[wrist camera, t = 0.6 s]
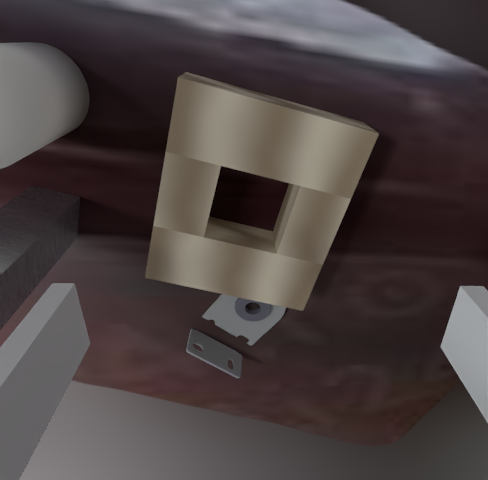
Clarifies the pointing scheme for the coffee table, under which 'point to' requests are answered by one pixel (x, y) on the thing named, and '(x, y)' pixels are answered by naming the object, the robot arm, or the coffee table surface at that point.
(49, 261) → the grey long block
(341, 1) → the coffee table surface
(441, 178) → the coffee table surface
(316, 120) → the socket block
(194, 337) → the bracket
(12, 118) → the plastic dowel
